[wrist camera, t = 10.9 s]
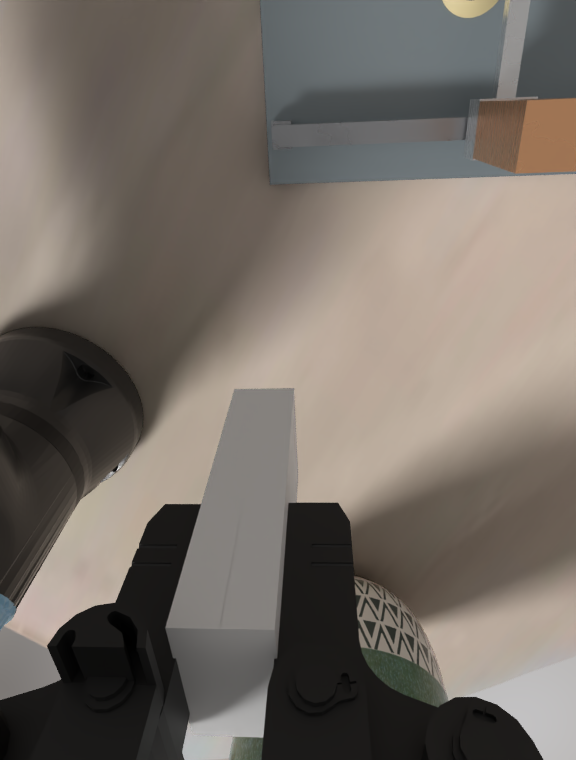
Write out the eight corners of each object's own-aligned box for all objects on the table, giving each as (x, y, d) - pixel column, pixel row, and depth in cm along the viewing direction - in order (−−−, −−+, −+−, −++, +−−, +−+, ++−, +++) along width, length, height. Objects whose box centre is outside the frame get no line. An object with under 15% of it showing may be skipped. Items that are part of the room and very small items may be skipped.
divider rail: (274, 160, 33) (268, 168, 29) (265, -22, 28) (256, -44, 24) (744, 142, 31) (809, 147, 27) (816, -57, 26) (907, -87, 22)
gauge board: (271, 182, 35) (269, 184, 34) (257, -85, 28) (254, -93, 27) (728, 165, 33) (743, 168, 32) (831, -126, 26) (854, -136, 25)
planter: (318, 503, 49) (316, 753, 30) (467, 587, 53) (548, 850, 34) (218, 607, 57) (168, 854, 38) (355, 672, 61) (370, 922, 43)
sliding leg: (454, 153, 32) (514, 176, 22) (475, -37, 27) (562, -117, 17) (502, 151, 32) (585, 173, 22) (531, -41, 27) (653, -124, 17)
